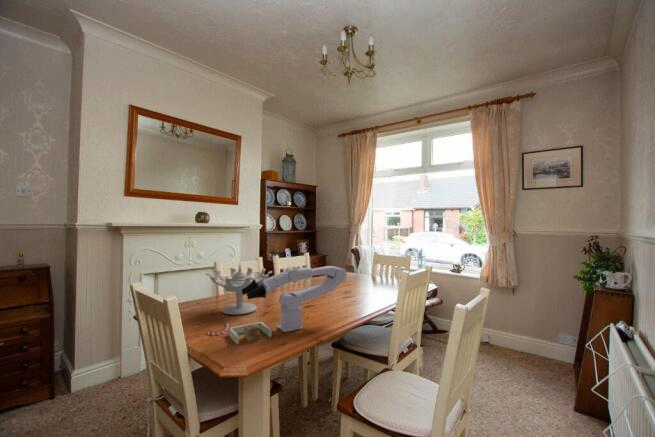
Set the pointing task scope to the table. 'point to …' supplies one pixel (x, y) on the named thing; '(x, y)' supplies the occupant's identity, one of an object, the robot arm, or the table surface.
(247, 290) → the robot arm
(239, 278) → the candelabra
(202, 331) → the table surface
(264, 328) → the sage corner frame
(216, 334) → the candy cane
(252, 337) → the tan cube
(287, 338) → the table surface
